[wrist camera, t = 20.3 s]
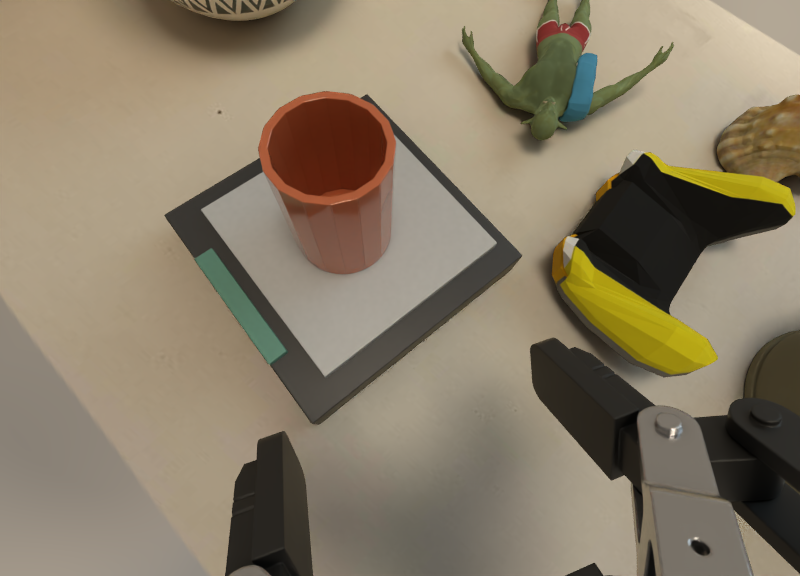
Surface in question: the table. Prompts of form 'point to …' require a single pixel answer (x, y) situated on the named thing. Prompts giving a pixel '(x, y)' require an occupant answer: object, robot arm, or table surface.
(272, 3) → the planter
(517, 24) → the table surface
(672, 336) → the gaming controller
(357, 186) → the cup
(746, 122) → the seashell
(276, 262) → the scale
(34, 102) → the table surface
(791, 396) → the can
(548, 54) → the figurine
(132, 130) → the table surface
